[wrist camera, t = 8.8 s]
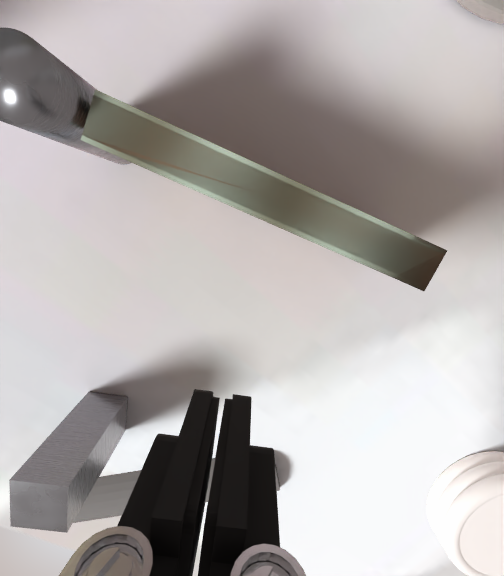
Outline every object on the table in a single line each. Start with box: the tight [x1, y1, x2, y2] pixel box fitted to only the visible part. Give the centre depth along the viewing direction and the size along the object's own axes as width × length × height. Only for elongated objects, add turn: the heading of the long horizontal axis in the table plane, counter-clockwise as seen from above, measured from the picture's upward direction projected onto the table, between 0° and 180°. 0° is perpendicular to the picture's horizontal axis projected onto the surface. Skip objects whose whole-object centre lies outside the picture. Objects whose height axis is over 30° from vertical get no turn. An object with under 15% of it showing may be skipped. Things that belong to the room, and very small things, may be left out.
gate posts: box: [0, 28, 132, 533], centre depth 18 cm, size 3×23×10 cm, turn 172°
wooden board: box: [81, 90, 447, 291], centre depth 17 cm, size 16×2×7 cm, turn 67°
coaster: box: [426, 451, 504, 576], centre depth 26 cm, size 10×10×4 cm
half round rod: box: [73, 458, 280, 523], centre depth 27 cm, size 4×20×2 cm, turn 101°
